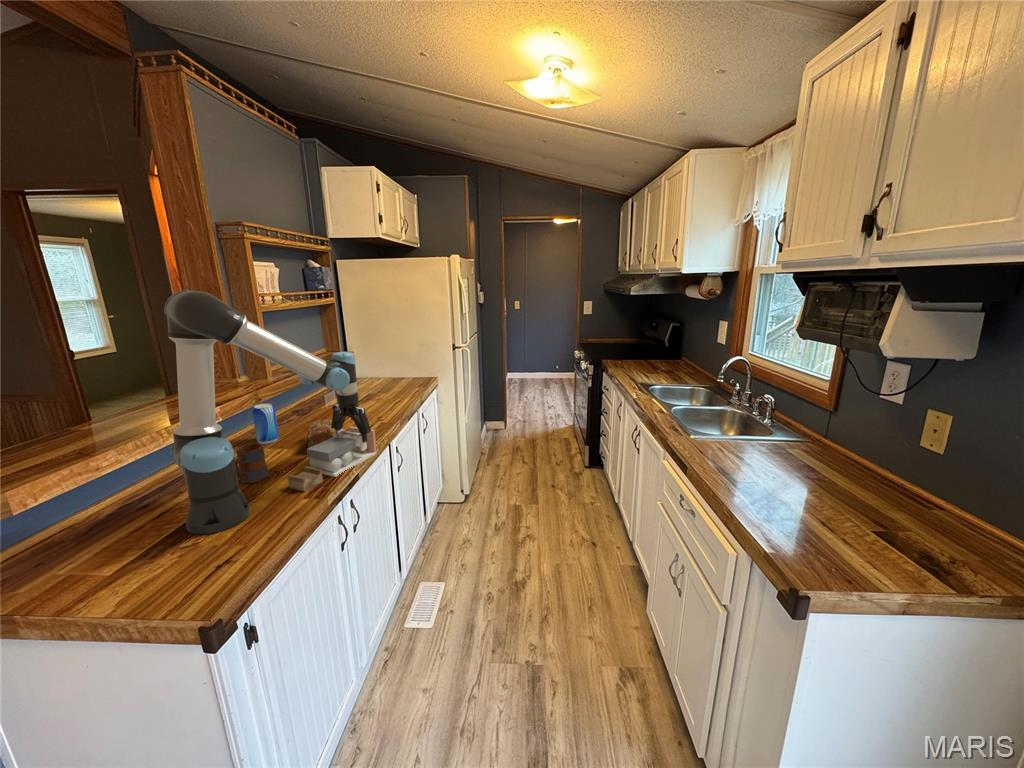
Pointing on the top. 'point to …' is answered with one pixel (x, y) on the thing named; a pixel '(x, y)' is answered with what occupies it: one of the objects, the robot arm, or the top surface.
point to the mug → (251, 463)
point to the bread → (320, 432)
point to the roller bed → (354, 462)
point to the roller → (350, 436)
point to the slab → (331, 448)
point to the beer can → (265, 423)
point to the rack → (305, 479)
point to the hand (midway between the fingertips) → (352, 447)
